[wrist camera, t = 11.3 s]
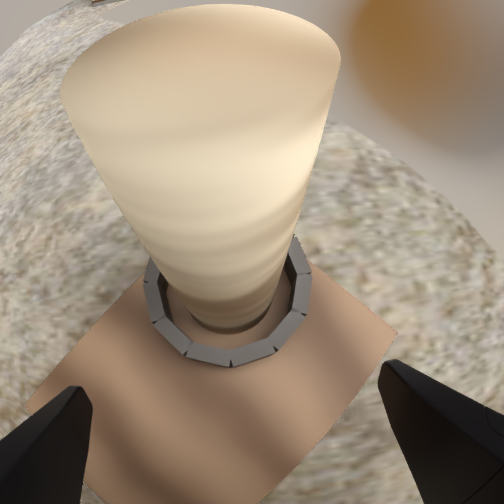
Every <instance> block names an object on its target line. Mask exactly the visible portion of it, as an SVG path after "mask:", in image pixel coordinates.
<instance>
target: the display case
mask: <svg viewBox="0 0 504 504" xmlns="http://www.w3.org/2000/svg"><path fill="white" fill-rule="evenodd" d="M117 1H123V0H92V4H93V7H94V6H98V5H103V4H107V3H112V2H117Z"/></svg>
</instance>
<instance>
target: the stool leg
mask: <svg viewBox="0 0 504 504" xmlns="http://www.w3.org/2000/svg"><path fill="white" fill-rule="evenodd" d="M340 61H341V56H340V52H339V49H338V47H337V45H336V44H335V42H334V41H333V40H332V39H331V38H330V36H328V35H327V34H326V33H325V32H324V31H323V30H321V29H320V28H318V27H317V26H315V25H314V24H312V23H310V22H308V21H306V20H304V19H301V18H299V17H297V16H294V15H291V14H288V13H285V12H282V11H278V10H274V9H270V8H264V7H259V6H251V5H239V4H210V5H198V6H190V7H184V8H178V9H173V10H169V11H165V12H161V13H158V14H154V15H151V16H148V17H145V18H142V19H139V20H137V21H134V22H132V23H130V24H127V25H125V26H123V27H121V28H119V29H117V30H115V31H113V32H112V33H110V34H108V35H106V36H105V37H103V38H102V39H100V40H99V41H97V42H96V43H94V44H93V45H92V46H91V47H89V48H88V49H87V50H86V51H85V52H83V53H82V54H81V55H80V56H79V57H78V58H77V59H76V60H75V62H74V63H73V64H72V65H71V67H70V68H69V69H68V71H67V72H66V74H65V76H64V78H63V81H62V84H61V88H60V98H61V101H62V104H63V107H64V109H65V111H66V113H67V115H68V117H69V119H70V121H71V123H72V125H73V127H74V129H75V131H76V133H77V134H78V136H79V138H80V140H81V142H82V144H83V146H84V148H85V150H86V151H87V153H88V155H89V157H90V159H91V161H92V162H93V164H94V166H95V168H96V170H97V171H98V173H99V175H100V177H101V178H102V180H103V182H104V184H105V185H106V187H107V189H108V190H109V192H110V194H111V195H112V197H113V199H114V200H115V202H116V204H117V205H118V207H119V209H120V210H121V212H122V214H123V215H124V217H125V218H126V220H127V222H128V223H129V225H130V226H131V228H132V230H133V231H134V233H135V234H136V236H137V237H138V239H139V240H140V242H141V243H142V245H143V246H144V248H145V250H146V251H147V253H148V254H149V256H150V257H151V259H152V260H153V261H154V263H155V264H156V266H157V267H158V269H159V270H160V272H161V273H162V275H163V276H164V277H165V279H166V280H167V282H168V283H169V285H170V286H171V287H172V289H173V290H174V292H175V293H176V294H177V296H178V297H179V299H180V300H181V301H182V303H183V304H184V305H185V307H186V308H187V309H188V311H189V312H190V314H191V315H192V316H193V318H194V319H195V320H196V321H197V322H198V323H199V324H200V325H202V326H203V327H204V328H206V329H208V330H210V331H212V332H215V333H219V334H228V335H231V334H238V333H242V332H245V331H248V330H249V329H251V328H253V327H254V326H256V325H257V324H258V323H259V322H261V321H262V319H263V318H264V317H265V316H266V314H267V312H268V311H269V308H270V306H271V303H272V300H273V297H274V294H275V291H276V288H277V285H278V282H279V278H280V275H281V272H282V269H283V266H284V263H285V259H286V256H287V253H288V250H289V247H290V243H291V240H292V237H293V234H294V230H295V227H296V224H297V220H298V217H299V214H300V210H301V207H302V204H303V200H304V197H305V193H306V190H307V187H308V183H309V180H310V176H311V173H312V169H313V166H314V162H315V159H316V155H317V151H318V148H319V144H320V141H321V137H322V133H323V130H324V126H325V122H326V118H327V115H328V110H329V107H330V103H331V99H332V95H333V91H334V88H335V83H336V79H337V76H338V72H339V68H340Z"/></svg>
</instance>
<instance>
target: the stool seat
mask: <svg viewBox="0 0 504 504" xmlns="http://www.w3.org/2000/svg"><path fill="white" fill-rule="evenodd" d="M294 235H295V234H293V237H292V240H291V243H290V247H289V250H288V253H287V256H286V259H285V263H284V266H283V269H282V272H281V275H280V278H279V282H278V285H277V288H276V291H275V294H274V297H273V300H272V303H271V306H270V308H269V311H268V312H267V314H266V316H265V317H264V318H263V319H262V321H261V322H259V323H258V324H257V325H256V326H254V327H253V328H251V329H249V330H248V331H245V332H242V333H238V334H231V335H228V334H219V333H215V332H212V331H210V330H208V329H206V328H204V327H203V326H202V325H200V324H199V323H198V322H197V321H196V320H195V319H194V318H193V316H192V315H191V314H190V312H189V311H188V309H187V308H186V307H185V305H184V304H183V303H182V301H181V300H180V299H179V297H178V296H177V294H176V293H175V292H174V290H173V289H172V287H171V286H170V285H169V283H168V282H167V280H166V279H165V277H164V276H163V275H162V273H161V272H160V270H159V269H158V267H157V266H156V264H155V263H154V261H153V260H152V259H151V257H150V259H149V263H148V266H147V269H146V271H145V272H144V273H143V274H142V275H141V276H140V277H139V278H138V279H137V280H136V281H135V282H134V283H133V284H132V285H131V286H130V287H129V288H128V289H127V291H126V292H125V293H124V294H123V295H122V296H121V297H120V298H119V299H118V300H117V301H116V302H115V303H114V304H113V305H112V306H111V307H110V308H109V309H108V310H107V311H106V312H105V313H104V314H103V316H102V317H101V318H100V319H99V320H98V321H97V322H96V323H95V324H94V325H93V326H92V327H91V328H90V329H89V331H88V332H87V333H86V334H85V335H84V336H83V337H82V338H81V339H80V340H79V342H78V343H77V344H76V345H75V346H74V347H73V348H72V349H71V350H70V352H69V353H68V354H67V355H66V356H65V357H64V358H63V360H62V361H61V362H60V363H59V364H58V365H57V366H56V368H55V369H54V370H53V371H52V372H51V373H50V375H49V376H48V377H47V378H46V379H45V381H44V382H43V383H42V384H41V385H40V387H39V388H38V389H37V390H36V391H35V393H34V394H33V395H32V396H31V397H30V399H29V400H28V401H27V402H26V404H25V406H26V408H27V409H28V411H29V412H30V414H31V415H33V414H34V413H35V412H37V411H38V410H39V409H40V408H42V407H43V406H44V405H45V404H47V403H48V402H49V401H50V400H52V399H53V398H54V397H55V396H57V395H58V394H59V393H60V392H62V391H63V390H64V389H65V388H67V387H68V386H70V385H77V386H81V387H83V388H84V390H85V392H86V394H87V396H88V397H89V399H90V401H91V403H92V406H93V415H92V423H91V432H90V443H89V451H88V457H87V462H86V467H85V473H84V479H83V481H84V482H85V483H86V484H87V485H88V486H89V487H90V488H91V489H92V490H93V491H94V492H95V493H96V494H97V495H98V496H99V497H100V498H101V499H102V500H103V501H104V502H105V503H106V504H257V503H258V502H259V501H261V500H262V499H263V498H264V497H265V496H266V495H267V494H268V493H269V492H270V491H271V490H273V489H274V488H275V487H276V486H277V485H278V484H279V483H280V482H281V481H282V480H283V479H284V478H285V477H286V476H287V475H288V474H289V473H290V472H291V471H292V470H293V469H294V468H295V467H296V466H297V465H298V464H299V463H300V462H301V461H302V459H303V458H304V457H305V456H306V455H307V454H308V453H309V452H310V451H311V450H312V449H313V447H314V446H315V445H316V444H317V443H318V442H319V441H320V440H321V438H322V437H323V436H324V435H325V434H326V432H327V431H328V430H329V429H330V428H331V427H332V425H333V424H334V423H335V422H336V420H337V419H338V418H339V417H340V415H341V414H342V413H343V412H344V410H345V409H346V408H347V406H348V405H349V404H350V402H351V401H352V400H353V399H354V397H355V396H356V394H357V393H358V392H359V390H360V389H361V388H362V386H363V385H364V383H365V382H366V381H367V379H368V378H369V376H370V375H371V373H372V372H373V370H374V369H375V367H376V366H377V364H378V363H379V361H380V360H381V358H382V357H383V355H384V354H385V352H386V351H387V349H388V347H389V346H390V344H391V343H392V341H393V339H394V338H395V336H396V334H397V333H398V332H397V331H396V330H394V329H393V328H392V327H391V326H389V325H388V324H387V323H386V322H385V321H383V320H382V319H381V318H380V317H378V316H377V315H376V314H375V313H374V312H372V311H371V310H370V309H369V308H367V307H366V306H365V305H364V304H362V303H361V302H360V301H359V300H358V299H356V298H355V297H354V296H353V295H351V294H350V293H349V292H348V291H346V290H345V289H344V288H343V287H341V286H340V285H339V284H338V283H336V282H335V281H334V280H332V279H331V278H330V277H329V276H327V275H326V274H325V273H324V272H322V271H321V270H320V269H319V268H317V267H316V266H315V265H313V264H312V263H311V262H310V261H308V260H307V259H306V256H305V254H304V252H303V250H302V247H301V245H300V243H299V241H298V239H297V237H295V238H294Z"/></svg>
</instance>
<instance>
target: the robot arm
mask: <svg viewBox="0 0 504 504" xmlns="http://www.w3.org/2000/svg"><path fill="white" fill-rule="evenodd" d="M378 389H379V392H380V394H381V397H382V400H383V404H384V407H385V410H386V413H387V416H388V419H389V422H390V425H391V428H392V430H393V432H394V434H395V437H396V439H397V441H398V443H399V446H400V448H401V450H402V452H403V455H404V457H405V459H406V461H407V464H408V466H409V468H410V471H411V473H412V475H413V478H414V480H415V483H416V485H417V487H418V490H419V492H420V495H421V497H422V500H423V502H424V504H504V415H503V414H501V413H498V412H496V411H494V410H492V409H490V408H488V407H486V406H485V407H484V405H482V404H480V403H478V402H476V401H474V400H473V399H471V398H469V397H467V396H465V395H463V394H461V393H459V392H457V391H455V390H453V389H451V388H450V387H448V386H446V385H444V384H442V383H440V382H438V381H436V380H435V379H433V378H431V377H429V376H427V375H425V374H423V373H421V372H420V371H418V370H416V369H414V368H412V367H410V366H408V365H407V364H405V363H403V362H401V361H399V360H397V359H392V360H388V361H385V362H384V363H383V364H382V367H381V371H380V374H379V378H378ZM92 415H93V406H92V403H91V401H90V399H89V397H88V396H87V394H86V392H85V390H84V388H83V387H81V386H77V385H70V386H68V387H67V388H65V389H64V390H63V391H62V392H60V393H59V394H58V395H57V396H55V397H54V398H53V399H52V400H50V401H49V402H48V403H47V404H45V405H44V406H43V407H42V408H40V409H39V410H38V411H37V412H35V413H34V414H33V415H32V416H30V417H29V418H28V419H27V420H25V421H24V422H23V423H22V424H20V425H19V426H18V427H17V428H15V429H14V430H13V431H12V432H10V433H9V434H8V435H7V436H5V437H4V438H3V439H2V440H0V504H80V498H81V491H82V485H83V479H84V473H85V467H86V462H87V457H88V451H89V443H90V432H91V423H92Z"/></svg>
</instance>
